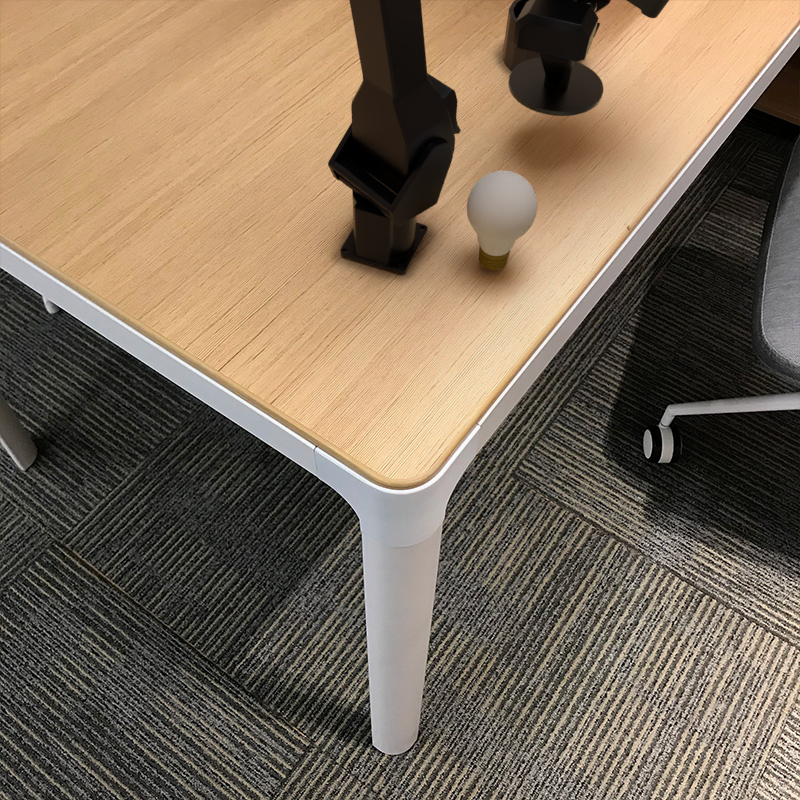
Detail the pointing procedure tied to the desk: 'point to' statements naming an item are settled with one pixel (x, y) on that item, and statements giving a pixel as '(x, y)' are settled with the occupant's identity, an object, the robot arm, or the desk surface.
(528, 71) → the bin lid
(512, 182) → the light bulb
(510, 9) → the bin
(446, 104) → the robot arm
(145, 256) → the desk surface
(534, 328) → the desk surface
